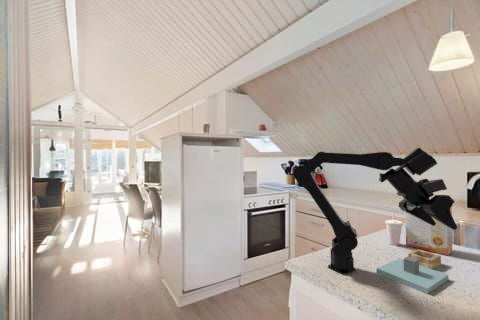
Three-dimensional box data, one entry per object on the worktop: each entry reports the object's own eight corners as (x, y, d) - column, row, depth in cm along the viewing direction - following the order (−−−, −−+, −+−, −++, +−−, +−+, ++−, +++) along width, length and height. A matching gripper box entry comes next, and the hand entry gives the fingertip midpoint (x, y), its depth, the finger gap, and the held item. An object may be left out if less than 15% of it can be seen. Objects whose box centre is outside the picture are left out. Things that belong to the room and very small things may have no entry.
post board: (376, 272, 77) (376, 256, 77) (398, 262, 84) (398, 247, 84) (427, 293, 65) (427, 274, 65) (448, 279, 72) (448, 261, 72)
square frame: (408, 261, 85) (408, 253, 85) (417, 257, 88) (417, 249, 88) (431, 269, 79) (431, 260, 79) (440, 264, 82) (440, 255, 82)
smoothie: (383, 244, 101) (383, 211, 101) (387, 240, 106) (386, 209, 106) (401, 248, 97) (401, 214, 97) (404, 243, 102) (403, 211, 102)
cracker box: (452, 252, 92) (452, 198, 92) (447, 256, 89) (447, 200, 88) (411, 242, 104) (410, 194, 103) (405, 245, 100) (404, 196, 100)
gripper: (446, 165, 64) (494, 212, 60) (410, 171, 82) (445, 208, 79) (413, 190, 64) (459, 238, 61) (384, 191, 83) (418, 228, 79)
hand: (444, 226), depth 70 cm, fingers open, 9 cm apart
